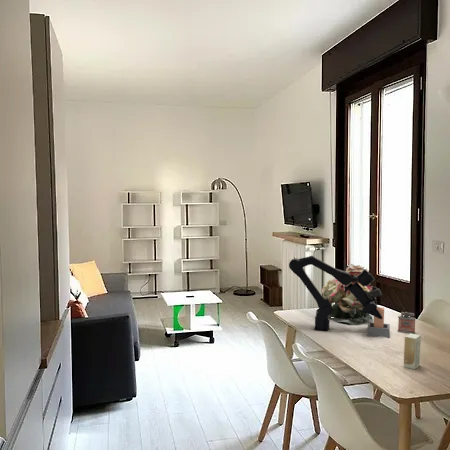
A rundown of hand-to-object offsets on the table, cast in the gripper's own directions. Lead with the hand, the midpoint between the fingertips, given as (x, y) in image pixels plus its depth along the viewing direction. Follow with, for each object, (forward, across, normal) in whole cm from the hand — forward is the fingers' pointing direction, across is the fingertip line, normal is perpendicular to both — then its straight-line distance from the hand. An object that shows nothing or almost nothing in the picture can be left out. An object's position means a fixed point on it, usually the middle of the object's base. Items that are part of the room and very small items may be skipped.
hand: (382, 317), depth 239 cm
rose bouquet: (-5, +25, +17) cm, 31 cm away
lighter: (+14, +8, -2) cm, 16 cm away
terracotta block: (+4, 0, +6) cm, 7 cm away
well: (+5, 0, +7) cm, 8 cm away
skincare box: (+14, -45, -2) cm, 47 cm away
